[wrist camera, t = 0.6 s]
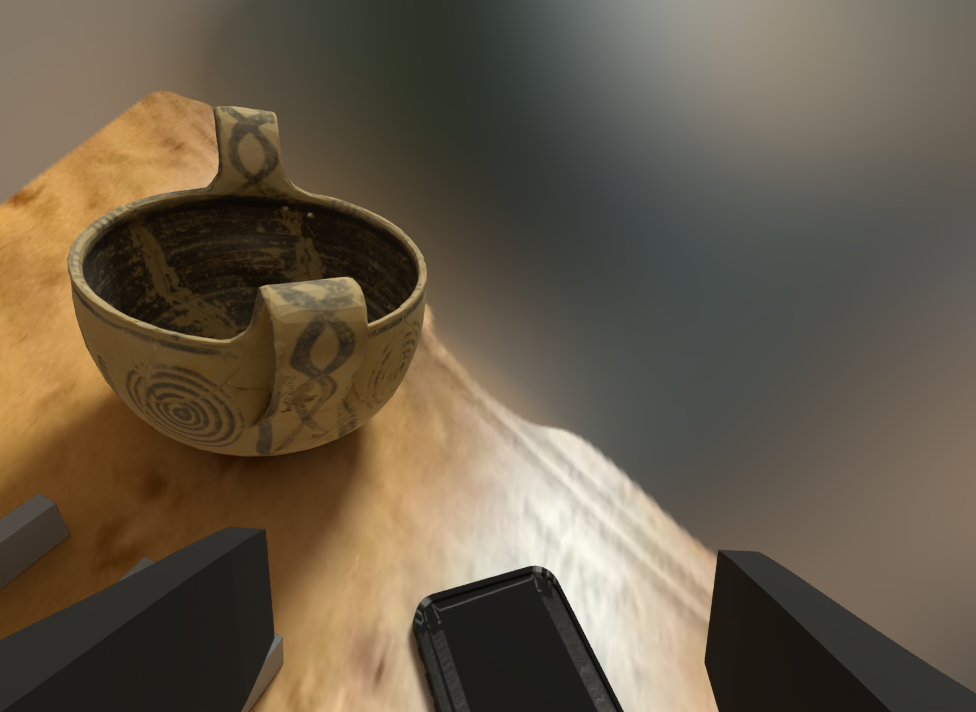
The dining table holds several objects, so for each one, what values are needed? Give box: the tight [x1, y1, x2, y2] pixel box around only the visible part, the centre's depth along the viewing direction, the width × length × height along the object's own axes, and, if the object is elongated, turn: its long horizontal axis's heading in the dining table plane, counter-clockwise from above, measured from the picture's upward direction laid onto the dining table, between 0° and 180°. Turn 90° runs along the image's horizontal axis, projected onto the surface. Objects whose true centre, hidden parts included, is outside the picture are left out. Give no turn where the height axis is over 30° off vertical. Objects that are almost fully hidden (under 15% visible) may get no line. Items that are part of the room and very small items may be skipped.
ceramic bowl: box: [68, 106, 427, 457], centre depth 30 cm, size 22×17×15 cm
